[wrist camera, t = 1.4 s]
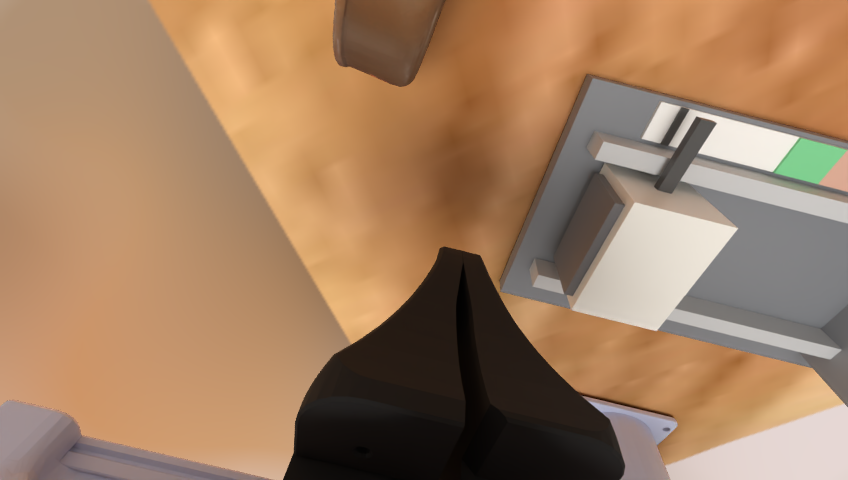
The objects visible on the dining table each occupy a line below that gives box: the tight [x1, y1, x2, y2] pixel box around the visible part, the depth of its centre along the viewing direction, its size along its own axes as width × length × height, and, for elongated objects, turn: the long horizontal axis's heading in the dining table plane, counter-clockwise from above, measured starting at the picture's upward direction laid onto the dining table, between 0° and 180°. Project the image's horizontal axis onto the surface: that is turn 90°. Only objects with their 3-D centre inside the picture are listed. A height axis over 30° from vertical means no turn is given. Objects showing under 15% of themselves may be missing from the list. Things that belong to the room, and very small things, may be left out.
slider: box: [553, 116, 738, 331], centre depth 17 cm, size 9×4×4 cm, turn 168°
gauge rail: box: [500, 74, 848, 407], centre depth 17 cm, size 12×20×7 cm, turn 78°
